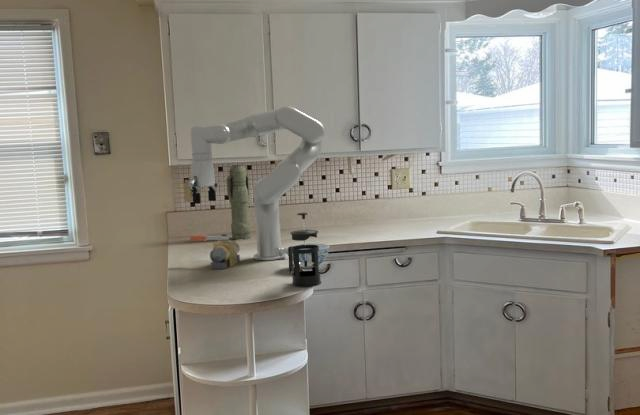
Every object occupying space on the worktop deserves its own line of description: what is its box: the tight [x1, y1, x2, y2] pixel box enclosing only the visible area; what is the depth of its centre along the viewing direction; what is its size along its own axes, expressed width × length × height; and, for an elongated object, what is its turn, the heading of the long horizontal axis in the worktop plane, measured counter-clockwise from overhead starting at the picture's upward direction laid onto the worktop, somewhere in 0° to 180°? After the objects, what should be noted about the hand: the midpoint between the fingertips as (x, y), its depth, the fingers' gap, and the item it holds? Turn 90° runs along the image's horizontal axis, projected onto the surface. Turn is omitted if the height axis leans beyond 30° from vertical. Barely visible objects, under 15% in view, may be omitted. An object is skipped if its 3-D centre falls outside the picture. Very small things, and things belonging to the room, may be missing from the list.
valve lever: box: [189, 233, 230, 242], centre depth 245 cm, size 15×4×2 cm, turn 74°
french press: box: [287, 212, 322, 288], centre depth 206 cm, size 12×9×23 cm
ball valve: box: [209, 239, 241, 270], centre depth 244 cm, size 7×16×9 cm, turn 164°
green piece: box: [226, 164, 251, 240], centre depth 307 cm, size 9×12×35 cm
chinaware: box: [288, 242, 330, 271], centre depth 232 cm, size 15×15×8 cm
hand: (204, 202), depth 250 cm, fingers open, 9 cm apart
